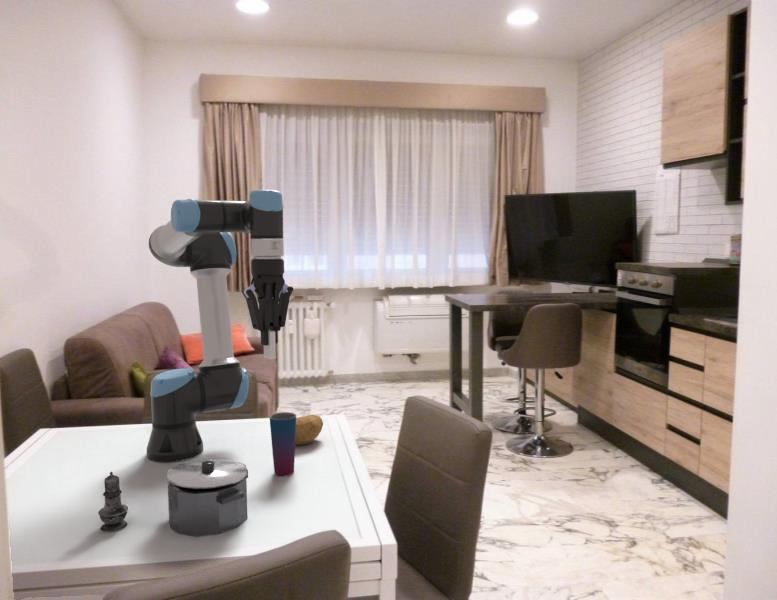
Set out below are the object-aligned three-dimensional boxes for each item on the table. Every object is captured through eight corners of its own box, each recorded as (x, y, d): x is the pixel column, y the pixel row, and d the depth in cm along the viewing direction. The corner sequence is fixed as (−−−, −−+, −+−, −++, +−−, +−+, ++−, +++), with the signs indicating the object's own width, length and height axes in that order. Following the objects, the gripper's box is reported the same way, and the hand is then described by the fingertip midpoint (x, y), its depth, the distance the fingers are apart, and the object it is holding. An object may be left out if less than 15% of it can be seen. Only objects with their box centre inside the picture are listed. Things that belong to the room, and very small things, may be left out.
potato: (332, 439, 186) (331, 413, 185) (298, 452, 175) (298, 425, 174) (309, 433, 192) (308, 408, 191) (275, 445, 181) (274, 419, 180)
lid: (153, 472, 133) (153, 460, 133) (223, 457, 145) (223, 446, 145) (190, 494, 121) (190, 481, 121) (263, 476, 133) (263, 464, 133)
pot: (152, 515, 135) (150, 475, 134) (220, 492, 147) (219, 456, 146) (198, 547, 121) (196, 503, 120) (269, 519, 133) (268, 479, 132)
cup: (292, 478, 156) (290, 420, 155) (266, 476, 157) (265, 419, 156) (301, 468, 163) (300, 412, 161) (276, 466, 164) (275, 411, 163)
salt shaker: (104, 520, 133) (102, 466, 132) (133, 519, 133) (130, 465, 132) (94, 533, 127) (91, 477, 126) (123, 532, 128) (121, 476, 126)
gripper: (252, 258, 135) (255, 364, 138) (300, 257, 144) (301, 356, 147) (233, 258, 140) (236, 360, 143) (281, 256, 150) (283, 352, 152)
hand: (269, 358), depth 145 cm, fingers closed
